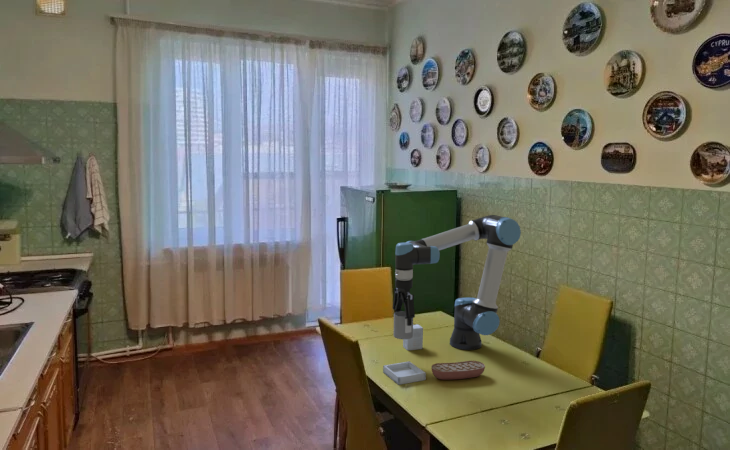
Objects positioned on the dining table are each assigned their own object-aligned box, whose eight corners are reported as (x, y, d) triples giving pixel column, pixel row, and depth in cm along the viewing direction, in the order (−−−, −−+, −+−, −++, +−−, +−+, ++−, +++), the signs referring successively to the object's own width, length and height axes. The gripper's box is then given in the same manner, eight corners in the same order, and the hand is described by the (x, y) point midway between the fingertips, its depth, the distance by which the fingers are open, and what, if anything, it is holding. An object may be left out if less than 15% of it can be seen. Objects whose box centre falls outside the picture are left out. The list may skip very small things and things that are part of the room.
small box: (418, 345, 265) (418, 324, 263) (422, 349, 259) (423, 327, 258) (402, 346, 262) (403, 325, 261) (407, 350, 257) (407, 329, 256)
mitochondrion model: (478, 371, 234) (479, 359, 234) (489, 380, 225) (489, 368, 224) (427, 375, 229) (428, 363, 228) (436, 385, 219) (436, 373, 219)
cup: (411, 340, 235) (411, 317, 234) (392, 338, 237) (392, 316, 236) (413, 333, 243) (414, 311, 242) (395, 332, 245) (395, 310, 244)
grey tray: (409, 367, 236) (409, 361, 236) (425, 379, 224) (425, 372, 223) (383, 372, 231) (383, 365, 230) (398, 384, 219) (398, 377, 218)
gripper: (385, 274, 245) (384, 323, 248) (408, 284, 226) (407, 337, 229) (400, 272, 248) (399, 321, 251) (423, 283, 229) (422, 335, 232)
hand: (403, 329), depth 240 cm, fingers closed on cup, 8 cm apart
